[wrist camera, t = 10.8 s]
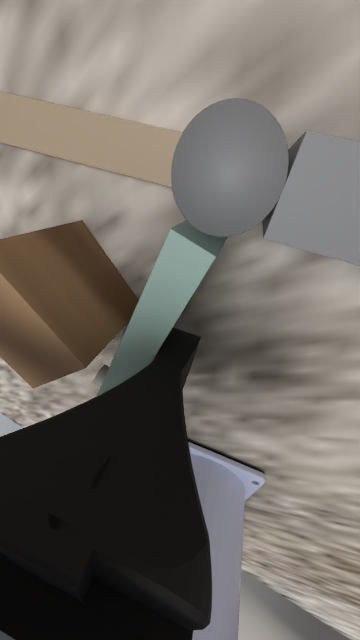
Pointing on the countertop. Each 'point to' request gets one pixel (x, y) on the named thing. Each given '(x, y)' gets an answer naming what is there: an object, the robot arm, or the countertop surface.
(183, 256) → the pale green long block
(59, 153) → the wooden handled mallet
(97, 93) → the countertop surface
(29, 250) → the block
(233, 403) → the countertop surface
